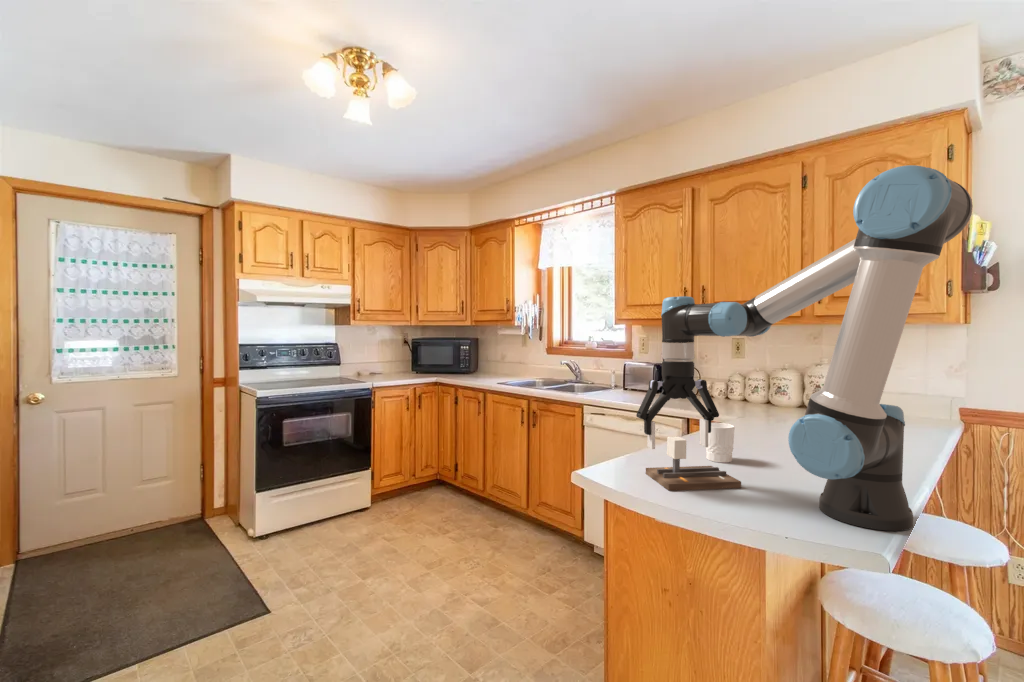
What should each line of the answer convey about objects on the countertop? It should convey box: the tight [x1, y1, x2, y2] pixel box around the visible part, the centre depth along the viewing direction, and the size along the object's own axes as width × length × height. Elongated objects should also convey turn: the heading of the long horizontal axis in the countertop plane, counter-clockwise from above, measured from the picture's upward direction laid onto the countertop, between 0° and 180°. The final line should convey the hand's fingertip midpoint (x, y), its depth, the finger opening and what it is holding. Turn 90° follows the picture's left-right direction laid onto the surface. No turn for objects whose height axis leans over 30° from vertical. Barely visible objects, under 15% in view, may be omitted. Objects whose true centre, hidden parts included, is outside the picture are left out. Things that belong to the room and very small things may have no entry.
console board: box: [645, 465, 742, 492], centre depth 117 cm, size 13×18×2 cm
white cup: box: [705, 422, 736, 464], centre depth 136 cm, size 8×8×10 cm
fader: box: [666, 436, 687, 473], centre depth 117 cm, size 4×3×8 cm
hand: (677, 447), depth 116 cm, fingers open, 13 cm apart
